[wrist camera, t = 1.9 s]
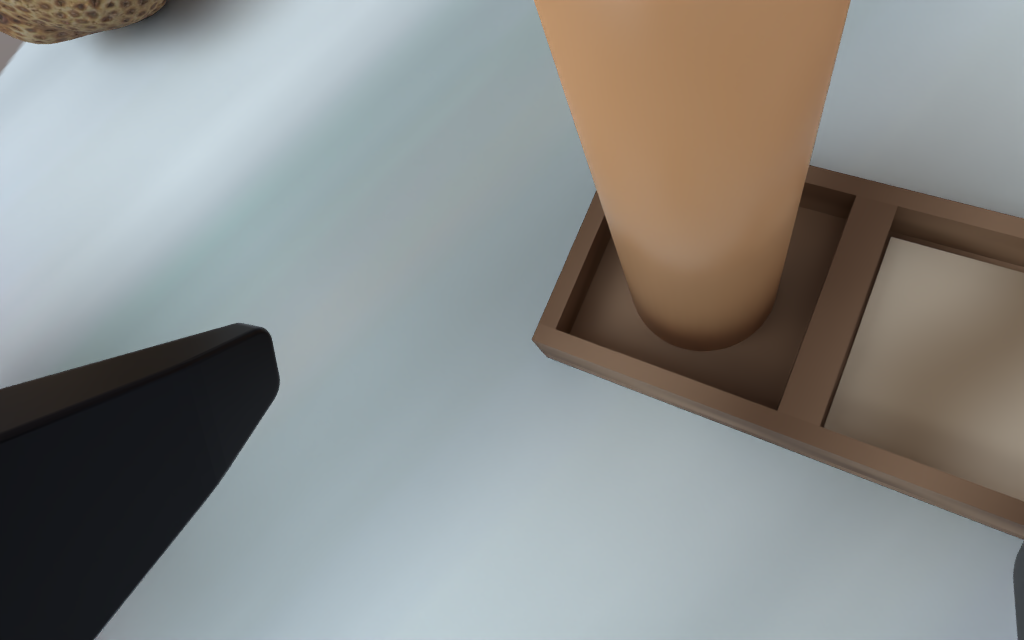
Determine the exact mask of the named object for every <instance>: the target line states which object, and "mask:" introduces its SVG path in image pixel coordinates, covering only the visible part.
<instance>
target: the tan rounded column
mask: <svg viewBox="0 0 1024 640" xmlns="http://www.w3.org/2000/svg"><path fill="white" fill-rule="evenodd" d="M850 1H851V0H534V2H535V5H536V8H537V11H538V14H539V17H540V20H541V23H542V26H543V29H544V32H545V35H546V38H547V41H548V44H549V47H550V50H551V53H552V56H553V59H554V62H555V65H556V68H557V71H558V74H559V77H560V80H561V83H562V86H563V90H564V93H565V96H566V99H567V102H568V105H569V108H570V111H571V114H572V117H573V120H574V123H575V126H576V129H577V132H578V135H579V138H580V141H581V144H582V147H583V150H584V153H585V156H586V159H587V162H588V165H589V168H590V171H591V174H592V177H593V180H594V183H595V186H596V190H597V193H598V196H599V199H600V202H601V205H602V208H603V211H604V214H605V217H606V220H607V223H608V226H609V229H610V232H611V235H612V238H613V241H614V244H615V247H616V250H617V253H618V256H619V259H620V262H621V265H622V268H623V271H624V274H625V277H626V280H627V283H628V287H629V290H630V293H631V296H632V299H633V302H634V305H635V307H636V310H637V312H638V314H639V316H640V317H641V319H642V321H643V322H644V323H645V325H646V326H647V327H648V328H649V329H650V330H651V331H652V332H653V333H654V334H655V335H656V336H658V337H659V338H661V339H662V340H664V341H665V342H667V343H669V344H671V345H674V346H676V347H679V348H683V349H687V350H692V351H714V350H720V349H724V348H728V347H730V346H733V345H735V344H738V343H740V342H741V341H743V340H745V339H746V338H748V337H749V336H751V335H752V334H753V333H754V332H755V331H756V330H757V329H759V328H760V327H761V325H762V324H763V323H764V321H765V320H766V319H767V317H768V315H769V314H770V312H771V310H772V308H773V305H774V303H775V299H776V295H777V291H778V287H779V283H780V279H781V275H782V271H783V267H784V263H785V259H786V255H787V251H788V247H789V243H790V239H791V235H792V231H793V227H794V223H795V219H796V215H797V211H798V207H799V203H800V199H801V195H802V191H803V187H804V183H805V179H806V176H807V172H808V168H809V164H810V160H811V156H812V152H813V148H814V144H815V140H816V136H817V132H818V128H819V124H820V120H821V116H822V112H823V108H824V104H825V100H826V96H827V92H828V88H829V84H830V80H831V76H832V72H833V68H834V64H835V60H836V56H837V52H838V48H839V44H840V40H841V36H842V33H843V29H844V25H845V21H846V17H847V13H848V9H849V5H850Z"/></svg>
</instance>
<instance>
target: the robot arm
mask: <svg viewBox="0 0 1024 640" xmlns="http://www.w3.org/2000/svg"><path fill="white" fill-rule="evenodd" d="M279 385H280V377H279V372H278V367H277V362H276V357H275V352H274V347H273V342H272V338H271V335H270V334H269V332H268V331H267V330H266V329H264V328H262V327H258V326H254V325H249V324H244V323H235V324H231V325H228V326H224V327H221V328H217V329H213V330H210V331H206V332H203V333H199V334H196V335H192V336H188V337H185V338H181V339H178V340H174V341H171V342H167V343H163V344H160V345H156V346H153V347H149V348H145V349H142V350H138V351H135V352H131V353H128V354H124V355H120V356H117V357H113V358H110V359H106V360H103V361H99V362H95V363H92V364H88V365H85V366H81V367H78V368H74V369H70V370H67V371H63V372H60V373H56V374H53V375H49V376H45V377H42V378H38V379H35V380H31V381H28V382H24V383H20V384H17V385H13V386H10V387H6V388H3V389H0V640H94V639H95V638H96V637H97V636H98V634H99V633H100V632H101V631H102V629H103V628H104V627H105V626H106V624H107V623H108V622H109V621H110V619H111V618H112V617H113V616H114V614H115V613H116V612H117V611H118V609H119V608H120V607H121V606H122V604H123V603H124V602H125V601H126V599H127V598H128V597H129V596H130V594H131V593H132V592H133V591H134V589H135V588H136V587H137V586H138V584H139V583H140V582H141V581H142V579H143V578H144V577H145V576H146V574H147V573H148V572H149V571H150V569H151V568H152V567H153V566H154V564H155V563H156V562H157V561H158V559H159V558H160V557H161V556H162V554H163V553H164V552H165V551H166V550H167V548H168V547H169V546H170V545H171V543H172V542H173V541H174V540H175V538H176V537H177V536H178V535H179V533H180V532H181V531H182V530H183V528H184V527H185V526H186V525H187V523H188V522H189V521H190V520H191V518H192V517H193V516H194V515H195V513H196V512H197V511H198V510H199V508H200V507H201V506H202V505H203V503H204V502H205V501H206V500H207V498H208V497H209V496H210V494H211V493H212V492H213V490H214V489H215V488H216V487H217V485H218V484H219V482H220V481H221V479H222V478H223V477H224V475H225V474H226V472H227V471H228V469H229V468H230V466H231V465H232V463H233V462H234V460H235V459H236V457H237V455H238V454H239V452H240V451H241V449H242V448H243V446H244V445H245V443H246V442H247V440H248V439H249V437H250V436H251V434H252V432H253V431H254V429H255V428H256V426H257V425H258V423H259V422H260V420H261V419H262V417H263V416H264V414H265V413H266V411H267V410H268V408H269V406H270V405H271V403H272V402H273V400H274V399H275V397H276V395H277V393H278V390H279ZM1013 583H1014V596H1015V609H1016V623H1017V636H1018V640H1024V542H1023V544H1022V546H1021V548H1020V550H1019V552H1018V554H1017V557H1016V560H1015V564H1014V572H1013Z"/></svg>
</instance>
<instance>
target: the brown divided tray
mask: <svg viewBox="0 0 1024 640" xmlns="http://www.w3.org/2000/svg"><path fill="white" fill-rule="evenodd" d="M532 341H533V342H534V343H535V344H536V345H537V346H538V347H539V349H540V350H541V351H542V352H543V353H544V354H545V355H546V356H547V357H548V358H551V359H554V360H556V361H559V362H562V363H564V364H567V365H569V366H572V367H575V368H577V369H580V370H582V371H585V372H588V373H590V374H593V375H595V376H598V377H601V378H603V379H606V380H608V381H611V382H614V383H616V384H619V385H621V386H624V387H627V388H629V389H632V390H635V391H637V392H640V393H642V394H645V395H648V396H650V397H653V398H655V399H658V400H661V401H663V402H666V403H668V404H671V405H674V406H676V407H679V408H681V409H684V410H687V411H689V412H692V413H694V414H697V415H700V416H702V417H705V418H708V419H710V420H713V421H715V422H718V423H721V424H723V425H726V426H728V427H731V428H734V429H736V430H739V431H741V432H744V433H747V434H749V435H752V436H754V437H757V438H760V439H762V440H765V441H768V442H770V443H773V444H775V445H778V446H781V447H783V448H786V449H788V450H791V451H794V452H796V453H799V454H801V455H804V456H807V457H809V458H812V459H814V460H817V461H820V462H822V463H825V464H827V465H830V466H833V467H835V468H838V469H841V470H843V471H846V472H848V473H851V474H854V475H856V476H859V477H861V478H864V479H867V480H869V481H872V482H874V483H877V484H880V485H882V486H885V487H887V488H890V489H893V490H895V491H898V492H901V493H903V494H906V495H908V496H911V497H914V498H916V499H919V500H921V501H924V502H927V503H929V504H932V505H934V506H937V507H940V508H942V509H945V510H947V511H950V512H953V513H955V514H958V515H960V516H963V517H966V518H968V519H971V520H974V521H976V522H979V523H981V524H984V525H987V526H989V527H992V528H994V529H997V530H1000V531H1002V532H1005V533H1007V534H1010V535H1013V536H1015V537H1018V538H1020V539H1023V540H1024V219H1023V218H1019V217H1015V216H1011V215H1007V214H1003V213H999V212H995V211H991V210H987V209H983V208H979V207H975V206H971V205H967V204H963V203H959V202H955V201H951V200H947V199H943V198H939V197H935V196H931V195H927V194H923V193H919V192H915V191H911V190H907V189H903V188H899V187H895V186H891V185H887V184H883V183H879V182H875V181H871V180H867V179H863V178H859V177H855V176H851V175H847V174H843V173H839V172H835V171H831V170H827V169H823V168H819V167H815V166H811V165H809V168H808V172H807V176H806V179H805V183H804V187H803V191H802V195H801V199H800V203H799V207H798V211H797V215H796V219H795V223H794V227H793V231H792V235H791V239H790V243H789V247H788V251H787V255H786V259H785V263H784V267H783V271H782V275H781V279H780V283H779V287H778V291H777V295H776V299H775V303H774V305H773V308H772V310H771V312H770V314H769V315H768V317H767V319H766V320H765V321H764V323H763V324H762V325H761V327H760V328H759V329H757V330H756V331H755V332H754V333H753V334H752V335H751V336H749V337H748V338H746V339H745V340H743V341H741V342H740V343H738V344H735V345H733V346H730V347H728V348H724V349H720V350H714V351H692V350H687V349H683V348H679V347H676V346H674V345H671V344H669V343H667V342H665V341H664V340H662V339H661V338H659V337H658V336H656V335H655V334H654V333H653V332H652V331H651V330H650V329H649V328H648V327H647V326H646V325H645V323H644V322H643V321H642V319H641V317H640V316H639V314H638V312H637V310H636V307H635V305H634V302H633V299H632V296H631V293H630V290H629V287H628V283H627V280H626V277H625V274H624V271H623V268H622V265H621V262H620V259H619V256H618V253H617V250H616V247H615V244H614V241H613V238H612V235H611V232H610V229H609V226H608V223H607V220H606V217H605V214H604V211H603V208H602V205H601V202H600V199H599V196H598V193H597V191H596V193H595V195H594V198H593V200H592V202H591V204H590V207H589V209H588V211H587V214H586V216H585V218H584V220H583V223H582V225H581V227H580V230H579V232H578V234H577V237H576V239H575V241H574V243H573V246H572V248H571V250H570V253H569V255H568V257H567V260H566V262H565V264H564V266H563V269H562V271H561V273H560V276H559V278H558V280H557V283H556V285H555V287H554V289H553V292H552V294H551V296H550V299H549V301H548V303H547V306H546V308H545V310H544V312H543V315H542V317H541V319H540V322H539V324H538V326H537V329H536V331H535V333H534V335H533V338H532Z"/></svg>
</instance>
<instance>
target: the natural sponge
mask: <svg viewBox="0 0 1024 640" xmlns="http://www.w3.org/2000/svg"><path fill="white" fill-rule="evenodd" d="M166 1H167V0H0V31H1V32H3V33H5V34H8V35H9V36H11V37H13V38H16V39H19V40H22V41H25V42H30V43H35V44H52V43H59V42H63V41H68V40H72V39H75V38H79V37H82V36H86V35H89V34H93V33H97V32H102V31H107V30H113V29H117V28H120V27H124V26H128V25H130V24H133V23H136V22H138V21H140V20H143V19H145V18H147V17H149V16H151V15H153V14H154V13H156V12H157V11H158V10H160V9H161V8H162V7H163V6H164V5H165V3H166Z"/></svg>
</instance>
